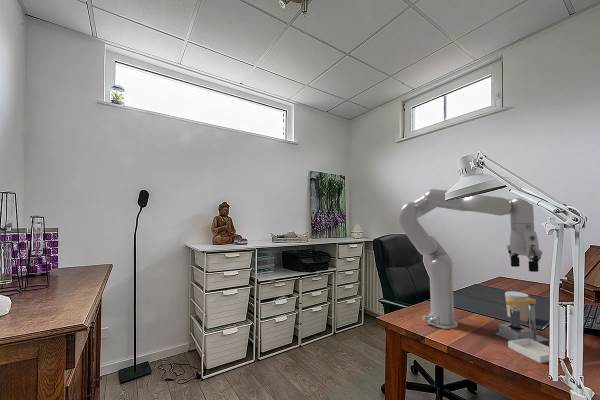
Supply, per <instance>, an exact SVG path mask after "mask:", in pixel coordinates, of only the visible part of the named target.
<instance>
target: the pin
mask: <svg viewBox="0 0 600 400" xmlns="http://www.w3.org/2000/svg"><path fill="white" fill-rule="evenodd" d="M509 319H510V321H509V322H510V323H511V328H513V329H515V330H521V326H522V325H521V320H520V308H518V307H514V306H510V317H509Z"/></svg>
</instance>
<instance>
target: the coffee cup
mask: <svg viewBox="0 0 600 400" xmlns="http://www.w3.org/2000/svg"><path fill="white" fill-rule="evenodd" d="M504 297H505V302H506V301H515V300H525V299H527V298H530V296H529V295H528V294H527V293H525V292H520V291H514V290H513V291H511V290H510V291H509V290H508V291H505V293H504ZM505 305H506V304H505ZM511 306H514V307H518V308H520V322H524V323H526V322H529V308H528V304H520V305H511ZM506 313H507V317H509V318H510V306H509V305H506Z"/></svg>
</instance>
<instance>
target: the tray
mask: <svg viewBox="0 0 600 400" xmlns="http://www.w3.org/2000/svg"><path fill="white" fill-rule="evenodd" d="M507 345H508V346H507V347H508V348H509V349H511V350H513V351H515V352H517V353H518V354H520V355H523V356H525V357H527V358H529V359H532V360H533V361H535V362H537V363H538V364H544V363H549V347H550V346H548V345H546V344H543V343H541V342H536V341H534V340H532V339H529V338H525V339H519V340H512V341H510V340H508V341H507Z"/></svg>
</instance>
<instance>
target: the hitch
mask: <svg viewBox="0 0 600 400" xmlns="http://www.w3.org/2000/svg"><path fill="white" fill-rule="evenodd" d="M535 305H536V304H530V303H529V304H528V308H529V315H528V325H529V328H528V327H526V326H523V325H521V330H515V329H513V328H511V322H508V323H507V322H506V323H500V324H499V323H498V332H496V333H494V334H495V335H498V336H500V337H501V338H503V339H505V340H508V341H512V340H519V339H525V338H529V339H532V340H534V341H536V342H539V343H541V342H545V341H546V342H547V341H550V339H549V338H547V337H544V336H542V335H538V334H537V327H536V326H537V325H536V306H535Z"/></svg>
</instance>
